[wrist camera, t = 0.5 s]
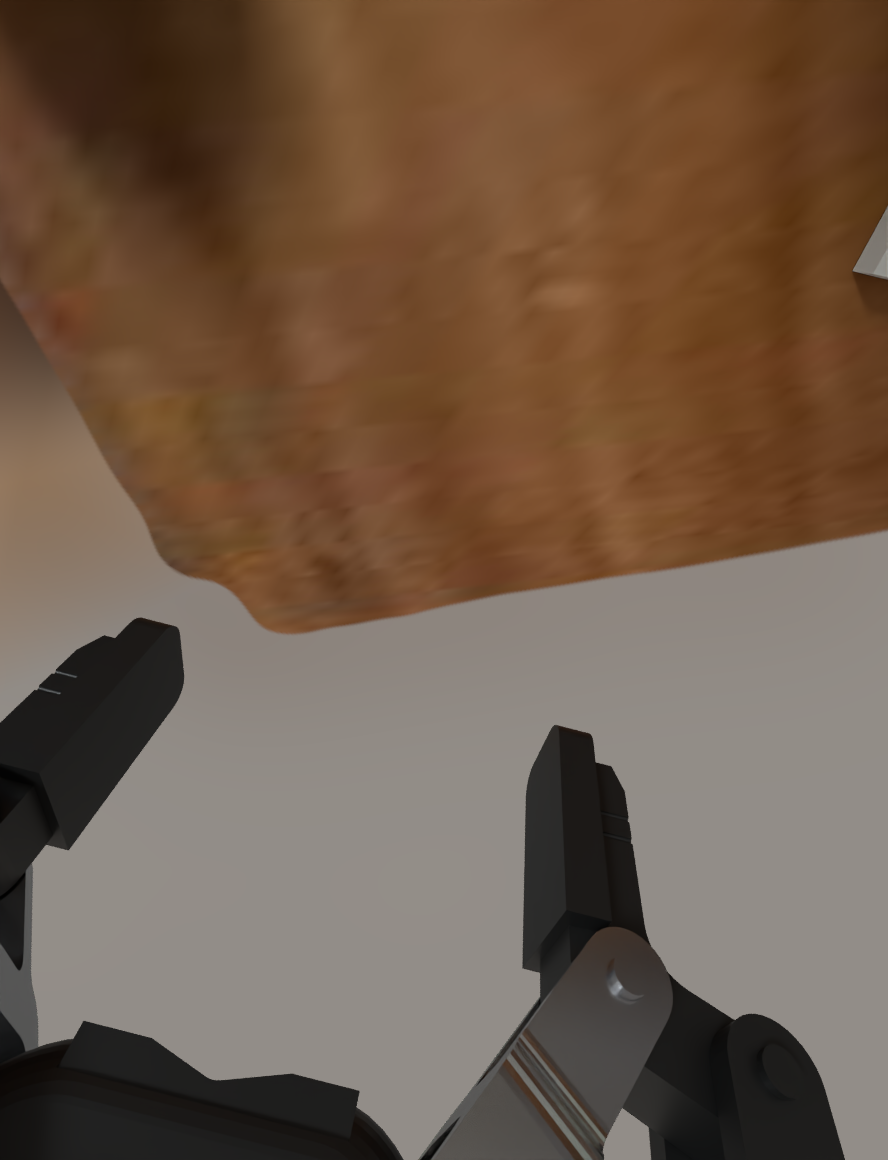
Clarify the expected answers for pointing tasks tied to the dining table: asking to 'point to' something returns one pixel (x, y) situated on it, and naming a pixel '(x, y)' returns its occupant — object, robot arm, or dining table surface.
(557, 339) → the dining table surface
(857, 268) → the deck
